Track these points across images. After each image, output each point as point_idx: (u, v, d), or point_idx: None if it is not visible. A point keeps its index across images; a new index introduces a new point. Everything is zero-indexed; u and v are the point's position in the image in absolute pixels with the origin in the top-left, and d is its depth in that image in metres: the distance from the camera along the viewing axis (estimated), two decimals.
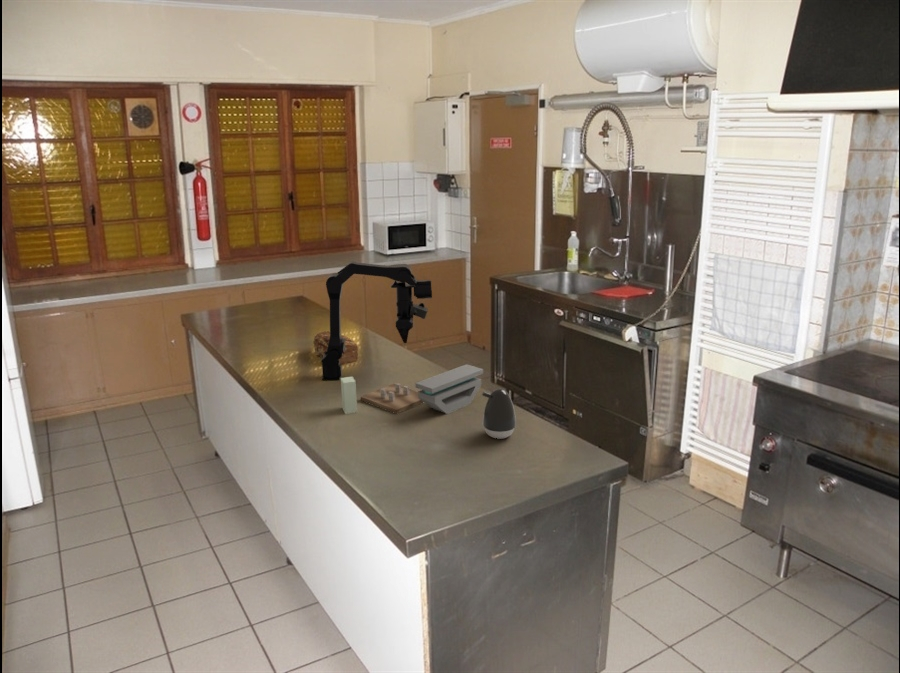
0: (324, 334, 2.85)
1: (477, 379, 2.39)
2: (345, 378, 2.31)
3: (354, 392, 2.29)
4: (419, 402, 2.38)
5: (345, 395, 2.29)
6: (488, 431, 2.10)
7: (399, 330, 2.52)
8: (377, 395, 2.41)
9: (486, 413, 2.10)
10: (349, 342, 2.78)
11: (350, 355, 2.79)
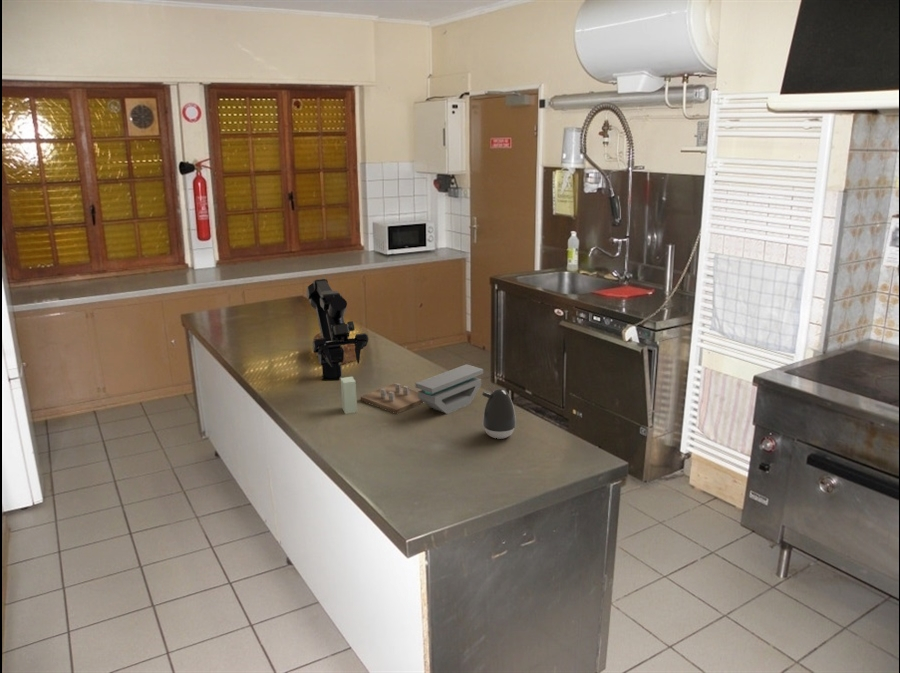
0: None
1: (477, 379, 2.39)
2: (345, 378, 2.31)
3: (354, 392, 2.29)
4: (419, 402, 2.38)
5: (345, 395, 2.29)
6: (488, 431, 2.10)
7: (323, 355, 2.38)
8: (377, 395, 2.41)
9: (486, 413, 2.10)
10: None
11: (352, 354, 2.79)
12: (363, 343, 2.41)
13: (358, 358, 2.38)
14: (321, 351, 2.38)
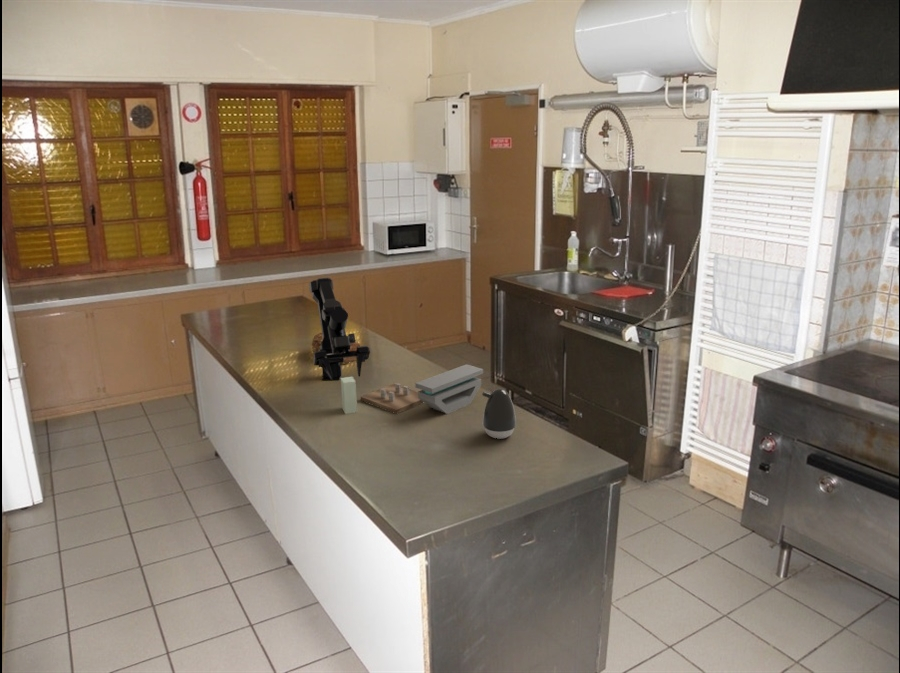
0: None
1: (477, 379, 2.39)
2: (345, 378, 2.31)
3: (354, 392, 2.29)
4: (419, 402, 2.38)
5: (345, 395, 2.29)
6: (488, 431, 2.10)
7: (323, 368, 2.35)
8: (377, 395, 2.41)
9: (486, 413, 2.10)
10: None
11: None
12: (364, 356, 2.37)
13: (359, 371, 2.35)
14: (322, 364, 2.35)
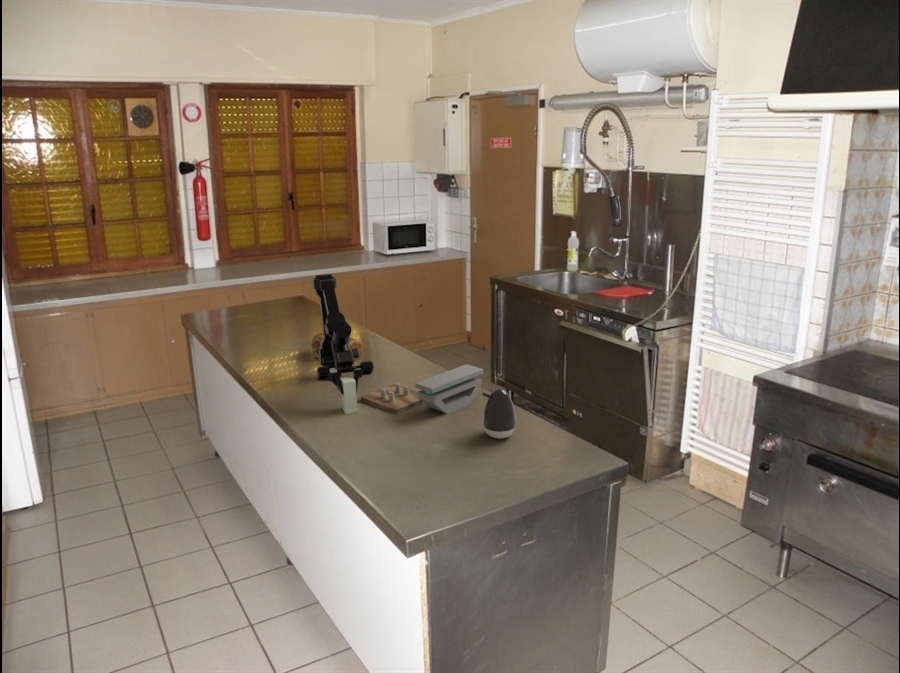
0: None
1: (477, 379, 2.39)
2: (345, 378, 2.31)
3: (354, 392, 2.29)
4: (419, 402, 2.38)
5: (345, 395, 2.29)
6: (488, 431, 2.10)
7: (334, 382, 2.33)
8: (377, 395, 2.41)
9: (486, 413, 2.10)
10: (354, 340, 2.80)
11: None
12: (361, 372, 2.33)
13: (356, 387, 2.31)
14: (332, 378, 2.32)
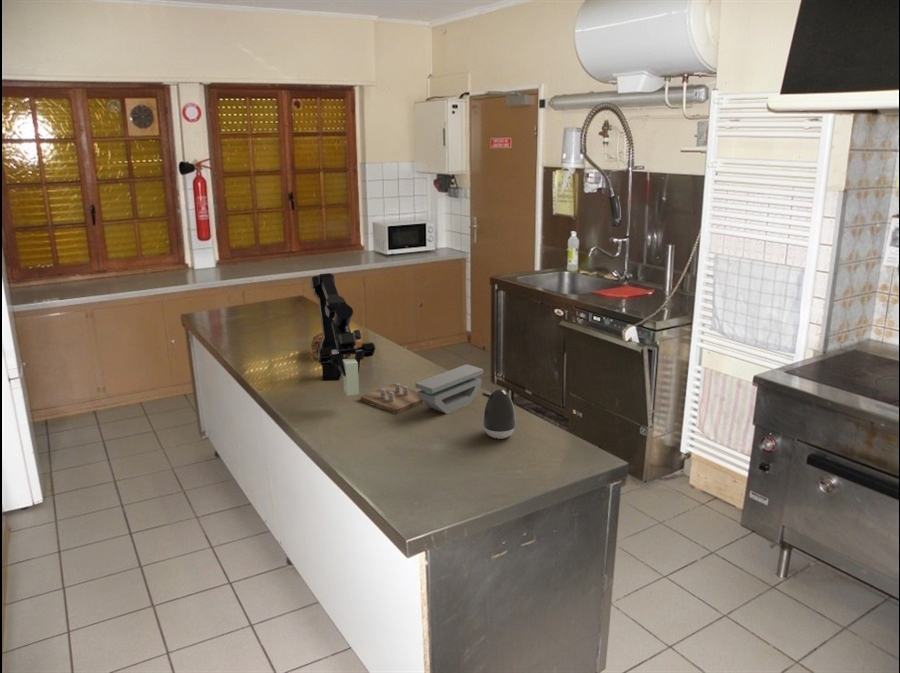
0: None
1: (477, 379, 2.39)
2: (347, 359, 2.29)
3: (356, 373, 2.28)
4: (419, 402, 2.38)
5: (347, 376, 2.27)
6: (488, 431, 2.10)
7: (335, 364, 2.31)
8: (377, 395, 2.41)
9: (486, 413, 2.10)
10: None
11: None
12: (363, 354, 2.32)
13: (358, 369, 2.29)
14: (334, 360, 2.30)
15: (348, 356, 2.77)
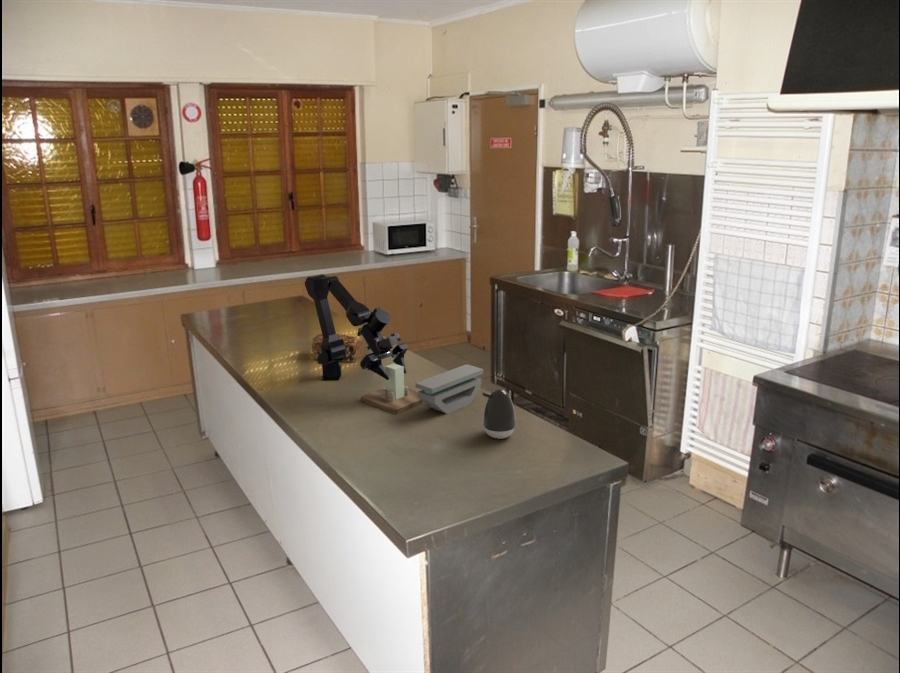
0: None
1: (477, 379, 2.39)
2: (390, 365, 2.38)
3: (402, 377, 2.38)
4: (419, 402, 2.38)
5: (396, 381, 2.36)
6: (488, 431, 2.10)
7: (374, 370, 2.36)
8: (377, 395, 2.41)
9: (486, 413, 2.10)
10: (357, 338, 2.83)
11: (359, 351, 2.84)
12: (403, 353, 2.43)
13: (405, 368, 2.41)
14: (372, 366, 2.35)
15: (352, 355, 2.78)
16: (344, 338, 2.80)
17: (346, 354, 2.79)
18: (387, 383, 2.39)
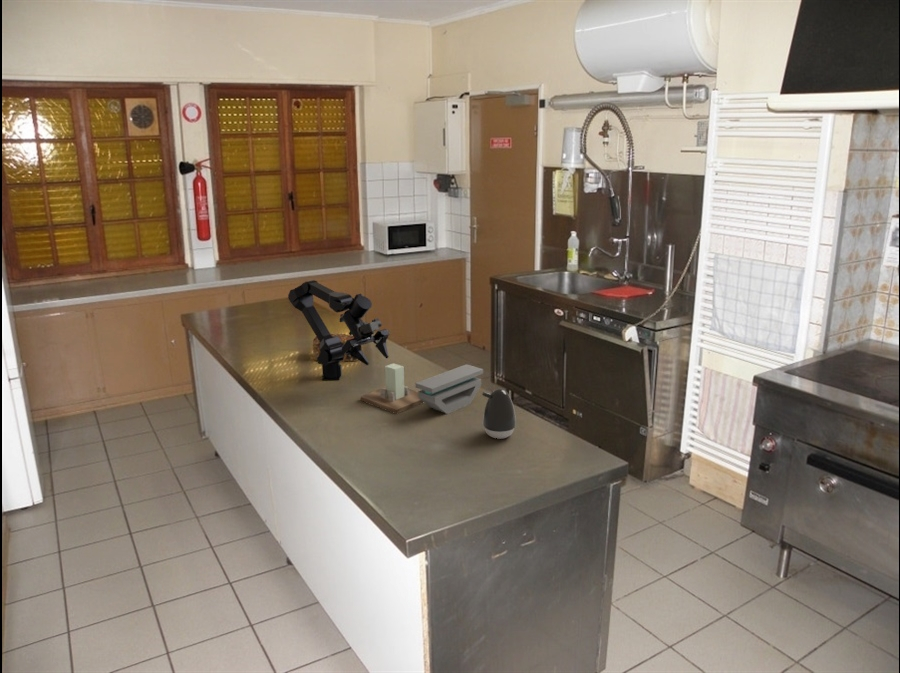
0: None
1: (477, 379, 2.39)
2: (390, 365, 2.38)
3: (402, 377, 2.38)
4: (419, 402, 2.38)
5: (396, 381, 2.36)
6: (488, 431, 2.10)
7: (354, 355, 2.41)
8: (377, 395, 2.41)
9: (486, 413, 2.10)
10: None
11: None
12: None
13: (387, 353, 2.46)
14: (352, 351, 2.40)
15: None
16: (346, 337, 2.81)
17: None
18: (387, 383, 2.39)
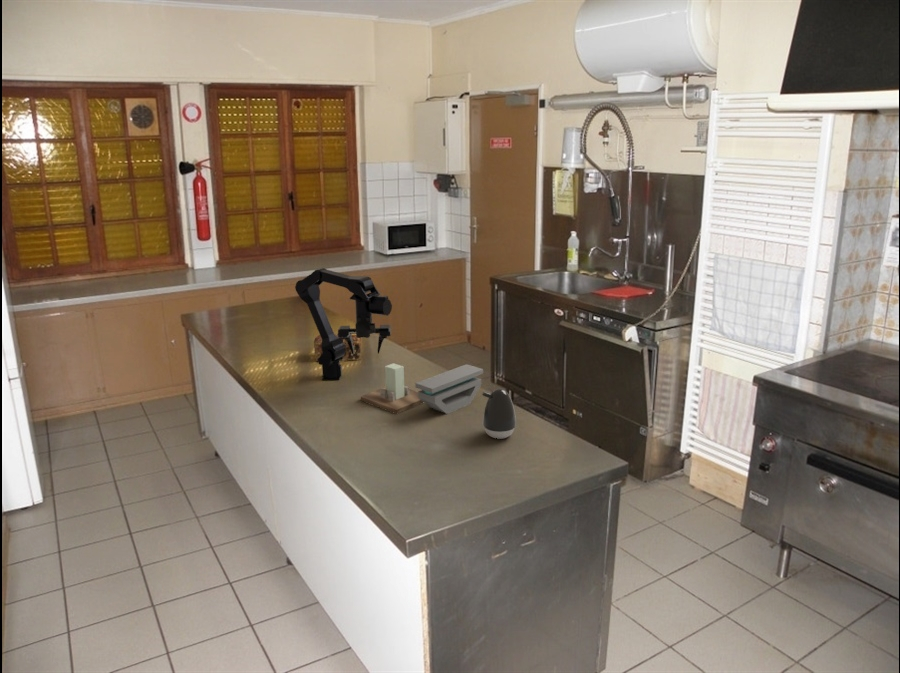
0: None
1: (477, 379, 2.39)
2: (390, 365, 2.38)
3: (402, 377, 2.38)
4: (419, 402, 2.38)
5: (396, 381, 2.36)
6: (488, 431, 2.10)
7: None
8: (377, 395, 2.41)
9: (486, 413, 2.10)
10: None
11: None
12: None
13: (378, 350, 2.52)
14: None
15: (358, 353, 2.81)
16: None
17: (351, 352, 2.81)
18: (387, 383, 2.39)
